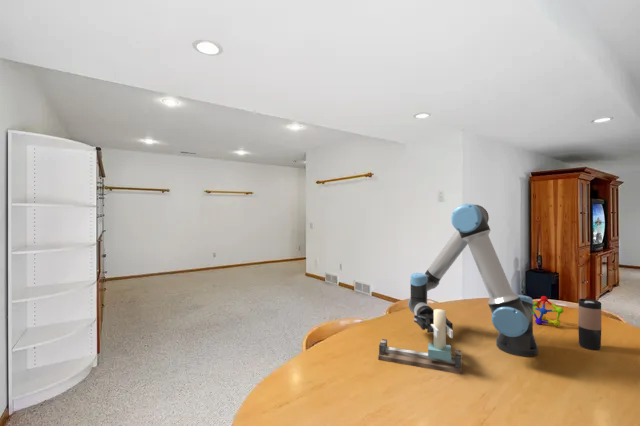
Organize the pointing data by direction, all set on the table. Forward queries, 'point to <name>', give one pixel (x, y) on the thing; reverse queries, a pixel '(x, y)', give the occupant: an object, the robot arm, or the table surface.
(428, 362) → the rail board
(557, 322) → the educational toy
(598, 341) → the travel mug
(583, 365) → the table surface
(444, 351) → the carriage
